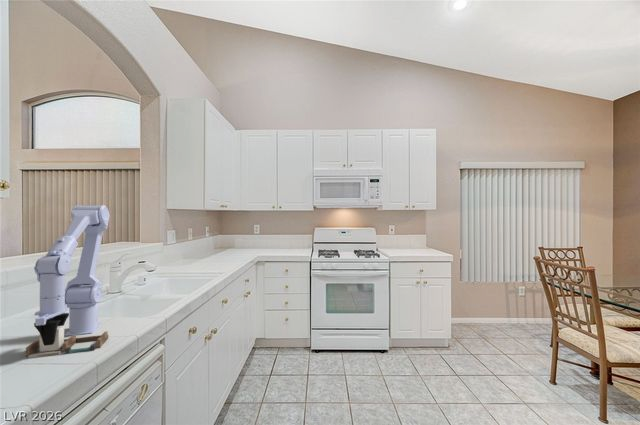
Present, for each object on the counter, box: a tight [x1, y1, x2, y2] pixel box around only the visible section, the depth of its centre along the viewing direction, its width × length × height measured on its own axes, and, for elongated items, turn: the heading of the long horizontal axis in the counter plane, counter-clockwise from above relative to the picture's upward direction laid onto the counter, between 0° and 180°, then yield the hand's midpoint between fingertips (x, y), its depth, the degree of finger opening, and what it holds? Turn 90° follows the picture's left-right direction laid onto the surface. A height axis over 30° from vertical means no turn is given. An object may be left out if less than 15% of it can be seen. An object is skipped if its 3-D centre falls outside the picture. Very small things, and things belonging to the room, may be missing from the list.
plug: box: [39, 325, 65, 353], centre depth 92 cm, size 4×4×7 cm
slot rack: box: [25, 330, 109, 359], centre depth 94 cm, size 9×18×2 cm, turn 109°
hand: (52, 342), depth 92 cm, fingers closed on plug, 3 cm apart
